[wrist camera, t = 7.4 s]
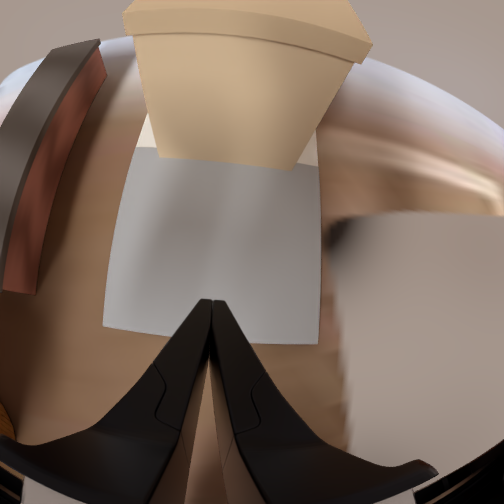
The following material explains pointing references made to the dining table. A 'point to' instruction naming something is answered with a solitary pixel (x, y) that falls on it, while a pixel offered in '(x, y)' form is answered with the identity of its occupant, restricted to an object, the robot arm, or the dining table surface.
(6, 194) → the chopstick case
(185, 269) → the board
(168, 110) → the kraft carton
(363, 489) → the robot arm
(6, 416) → the disposable coffee cup
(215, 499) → the dining table surface
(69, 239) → the dining table surface
